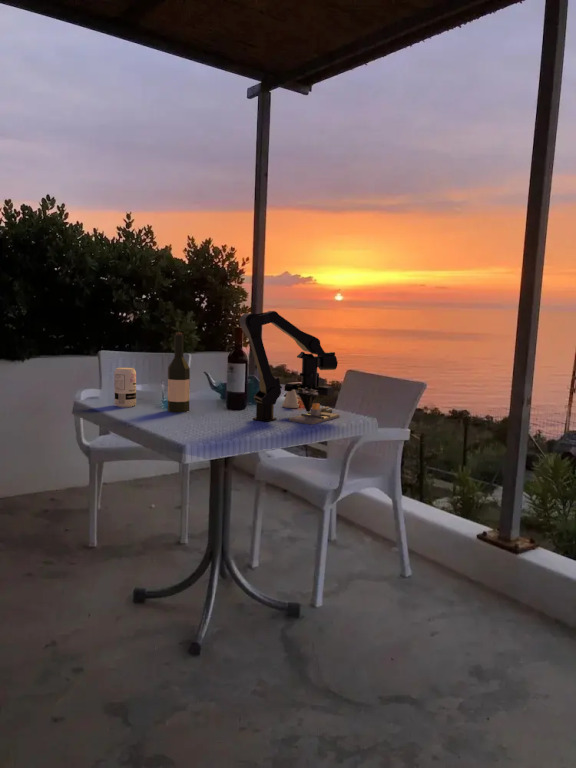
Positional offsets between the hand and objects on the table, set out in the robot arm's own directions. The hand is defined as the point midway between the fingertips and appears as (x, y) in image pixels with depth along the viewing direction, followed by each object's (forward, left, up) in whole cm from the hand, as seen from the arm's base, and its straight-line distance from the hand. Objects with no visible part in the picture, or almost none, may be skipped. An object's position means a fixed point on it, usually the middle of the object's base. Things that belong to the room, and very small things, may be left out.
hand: (308, 411), depth 223 cm
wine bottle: (-23, +45, -3) cm, 50 cm away
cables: (+12, +1, -2) cm, 13 cm away
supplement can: (-29, +68, -3) cm, 73 cm away
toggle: (0, -3, -1) cm, 4 cm away
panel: (-1, -3, -2) cm, 4 cm away
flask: (+15, +18, -3) cm, 24 cm away
